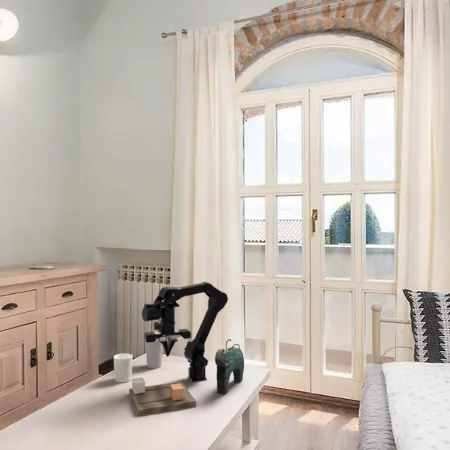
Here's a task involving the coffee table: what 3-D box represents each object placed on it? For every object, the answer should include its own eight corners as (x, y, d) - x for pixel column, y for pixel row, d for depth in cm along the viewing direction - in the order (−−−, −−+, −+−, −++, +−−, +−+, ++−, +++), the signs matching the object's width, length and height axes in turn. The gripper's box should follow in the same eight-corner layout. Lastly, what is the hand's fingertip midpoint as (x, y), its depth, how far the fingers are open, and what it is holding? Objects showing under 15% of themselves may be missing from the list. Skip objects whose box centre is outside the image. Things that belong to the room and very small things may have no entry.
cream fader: (142, 387, 163) (142, 377, 163) (145, 392, 158) (145, 381, 158) (132, 389, 161) (132, 378, 161) (134, 394, 157) (134, 383, 157)
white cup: (122, 384, 172) (123, 360, 172) (109, 380, 176) (109, 357, 176) (136, 378, 179) (136, 355, 179) (123, 375, 183) (123, 352, 183)
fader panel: (181, 386, 170) (181, 381, 170) (196, 406, 152) (196, 400, 152) (129, 393, 162) (129, 388, 162) (138, 415, 144) (138, 409, 144)
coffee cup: (140, 369, 191) (140, 336, 190) (148, 362, 200) (148, 330, 200) (160, 370, 189) (161, 337, 189) (167, 363, 198) (167, 331, 198)
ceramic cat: (224, 397, 160) (225, 345, 160) (210, 393, 163) (210, 342, 163) (247, 380, 178) (247, 333, 178) (233, 377, 181) (233, 331, 181)
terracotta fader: (180, 393, 157) (180, 383, 157) (183, 399, 153) (183, 388, 153) (169, 395, 156) (169, 384, 156) (173, 400, 151) (173, 389, 151)
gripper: (184, 312, 182) (183, 348, 182) (141, 316, 175) (141, 353, 175) (191, 318, 172) (191, 356, 172) (146, 321, 165) (146, 361, 165)
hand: (167, 356), depth 171 cm, fingers closed
